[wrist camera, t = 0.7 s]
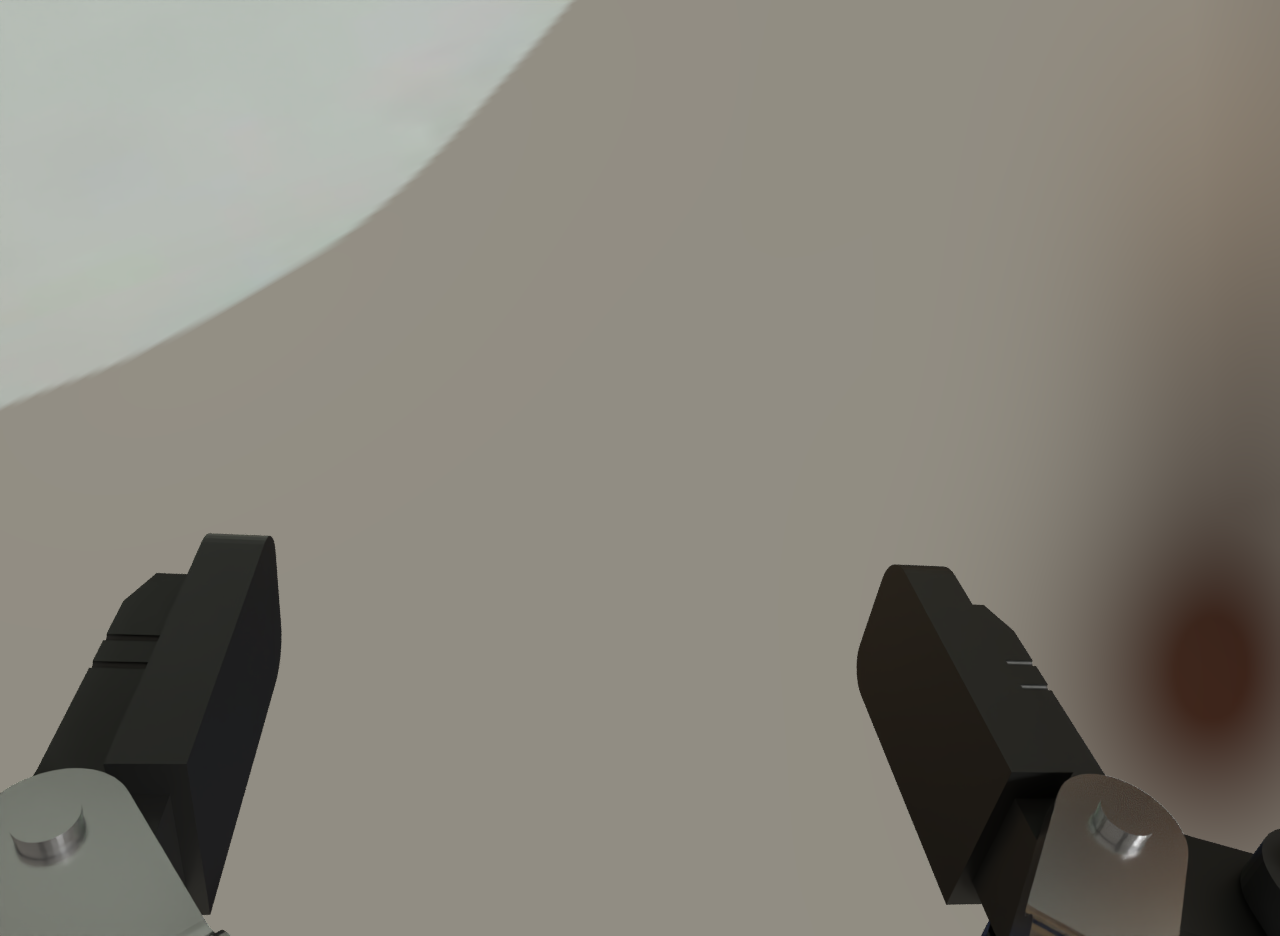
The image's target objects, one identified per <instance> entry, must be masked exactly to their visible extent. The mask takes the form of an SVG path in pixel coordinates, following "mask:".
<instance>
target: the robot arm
mask: <svg viewBox="0 0 1280 936" xmlns="http://www.w3.org/2000/svg"><path fill="white" fill-rule="evenodd" d="M280 655H281V618H280V605H279V593H278V578H277V565H276V552H275V544H274V540H273V538H272V537H271V536H259V535H233V534H212V533H209V534H207V535H206V536H205V537H204V539H203V540H202V542H201V545H200V547H199V549H198V551H197V554H196V556H195V558H194V560H193V563H192V566H191V567H190V569H189V572H188V574H166V573H156V574H155V575H154V576H153V577H152V578H150V579H149V580H148V581H147V582H146V583H145V584H143V585H142V586H141V587H140V588H138V589H137V590H136V591H135V592H134V593H133V594H131V595H130V596H129V597H128V598H126V599H125V600H124V601H123V603H122V605H121V607H120V609H119V611H118V613H117V615H116V616H115V619H114V620H113V623H112V624H111V626H110V628H109V630H108V632H107V638H106V640H103V642H102V644H101V646H100V648H99V650H98V652H97V654H96V656H95V657H94V659H93V666H92V668H89V669H88V671H87V673H86V675H85V677H84V679H83V681H82V683H81V685H80V687H79V689H78V691H77V693H76V695H75V697H74V698H73V700H72V702H71V704H70V706H69V708H68V710H67V712H66V714H65V716H64V718H63V720H62V722H61V724H60V726H59V728H58V730H57V732H56V734H55V736H54V738H53V739H52V741H51V743H50V745H49V747H48V750H47V751H46V753H45V755H44V757H43V759H42V761H41V763H40V765H39V767H38V769H37V770H36V772H35V774H34V775H33V777H30V778H27V779H24V780H22V781H20V782H18V783H16V784H14V785H12V786H11V787H9V788H7V789H6V790H4V791H3V792H1V793H0V936H230V935H229V934H228V933H227V932H226V931H224V930H220V931H219V932H217V933H214V932H213V931H212V930H211V928H210V927H209V926H208V924H207V923H206V921H205V919H204V918H203V916H202V915H210V914H211V910H212V907H213V903H214V900H215V896H216V892H217V889H218V885H219V882H220V878H221V874H222V871H223V868H224V864H225V860H226V857H227V853H228V850H229V846H230V843H231V839H232V836H233V832H234V829H235V825H236V821H237V818H238V814H239V811H240V807H241V804H242V800H243V796H244V793H245V790H246V786H247V782H248V779H249V775H250V772H251V768H252V764H253V761H254V758H255V754H256V750H257V747H258V744H259V740H260V736H261V733H262V729H263V726H264V722H265V719H266V715H267V712H268V708H269V705H270V701H271V697H272V694H273V690H274V687H275V683H276V679H277V675H278V669H279V663H280ZM857 680H858V686H859V690H860V693H861V696H862V699H863V701H864V703H865V705H866V708H867V711H868V713H869V716H870V718H871V721H872V723H873V726H874V728H875V731H876V733H877V735H878V738H879V740H880V743H881V745H882V748H883V750H884V753H885V755H886V757H887V760H888V763H889V765H890V767H891V770H892V772H893V775H894V777H895V780H896V782H897V785H898V787H899V790H900V792H901V794H902V797H903V799H904V802H905V804H906V807H907V809H908V811H909V814H910V817H911V819H912V821H913V824H914V826H915V829H916V831H917V833H918V836H919V839H920V841H921V843H922V846H923V848H924V851H925V853H926V856H927V858H928V861H929V863H930V866H931V868H932V871H933V873H934V876H935V878H936V880H937V883H938V885H939V888H940V890H941V893H942V895H943V898H944V900H945V902H946V905H948V904H949V905H950V904H982V905H983V907H984V910H985V912H986V915H987V917H988V919H989V922H988V923H987V925H986V927H985V929H984V931H983V933H982V935H981V936H1280V829H1277V830H1275V831H1273V832H1271V833H1269V834H1268V836H1267V837H1266V838H1265V839H1264V840H1263V842H1262V843H1261V844H1260V846H1259V847H1258V848H1257V850H1256V851H1255V853H1254V854H1252V853H1248V852H1245V851H1241V850H1238V849H1234V848H1230V847H1227V846H1223V845H1220V844H1216V843H1212V842H1209V841H1205V840H1201V839H1198V838H1194V837H1191V836H1188V835H1185V834H1183V832H1182V830H1181V828H1180V826H1179V825H1178V823H1177V822H1176V820H1175V819H1174V818H1173V817H1172V815H1171V814H1170V813H1169V812H1168V811H1167V810H1166V809H1165V808H1164V807H1163V806H1162V805H1161V804H1160V803H1159V802H1157V801H1156V800H1155V799H1154V798H1152V797H1151V796H1150V795H1148V794H1147V793H1145V792H1144V791H1142V790H1141V789H1139V788H1137V787H1135V786H1133V785H1131V784H1129V783H1127V782H1125V781H1122V780H1120V779H1117V778H1113V777H1110V776H1106V775H1105V774H1104V773H1103V771H1102V769H1101V768H1100V766H1099V765H1098V763H1097V762H1096V760H1095V759H1094V757H1093V755H1092V754H1091V752H1090V750H1089V749H1088V747H1087V746H1086V744H1085V743H1084V741H1083V739H1082V738H1081V736H1080V735H1079V733H1078V732H1077V730H1076V728H1075V727H1074V725H1073V724H1072V722H1071V721H1070V719H1069V717H1068V716H1067V714H1066V713H1065V711H1064V710H1063V708H1062V706H1061V705H1060V703H1059V702H1058V700H1057V698H1056V697H1055V695H1054V694H1053V692H1052V691H1051V690H1050V691H1049V690H1048V689H1047V683H1046V681H1045V680H1044V678H1043V676H1042V675H1041V673H1040V672H1039V670H1038V669H1037V667H1036V666H1032V659H1031V658H1030V656H1029V654H1028V653H1027V651H1026V649H1025V648H1024V646H1023V645H1022V643H1021V642H1020V640H1019V638H1018V637H1017V635H1016V634H1015V632H1014V631H1013V630H1012V629H1011V628H1010V627H1009V626H1007V625H1006V624H1005V623H1004V622H1003V621H1001V620H1000V619H999V618H998V617H997V616H996V615H995V614H993V613H992V612H991V611H990V610H989V609H988V608H987V607H985V606H984V605H972V603H971V601H970V600H969V598H968V596H967V595H966V593H965V591H964V590H963V588H962V587H961V585H960V583H959V581H958V580H957V578H956V576H955V575H954V574H953V572H952V571H951V570H950V569H949V568H947V567H939V566H917V565H891V566H890V567H889V568H888V569H887V570H886V572H885V574H884V576H883V579H882V582H881V584H880V587H879V590H878V593H877V596H876V599H875V602H874V605H873V608H872V611H871V614H870V617H869V620H868V623H867V626H866V629H865V632H864V634H863V637H862V641H861V643H860V647H859V651H858V656H857Z"/></svg>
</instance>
